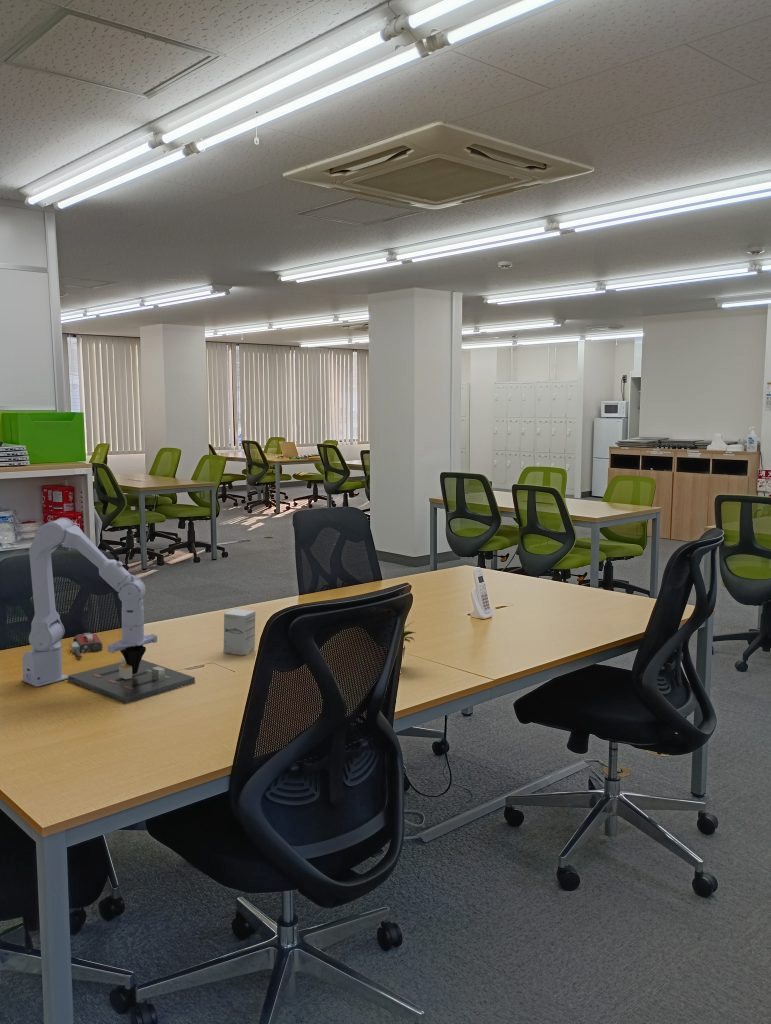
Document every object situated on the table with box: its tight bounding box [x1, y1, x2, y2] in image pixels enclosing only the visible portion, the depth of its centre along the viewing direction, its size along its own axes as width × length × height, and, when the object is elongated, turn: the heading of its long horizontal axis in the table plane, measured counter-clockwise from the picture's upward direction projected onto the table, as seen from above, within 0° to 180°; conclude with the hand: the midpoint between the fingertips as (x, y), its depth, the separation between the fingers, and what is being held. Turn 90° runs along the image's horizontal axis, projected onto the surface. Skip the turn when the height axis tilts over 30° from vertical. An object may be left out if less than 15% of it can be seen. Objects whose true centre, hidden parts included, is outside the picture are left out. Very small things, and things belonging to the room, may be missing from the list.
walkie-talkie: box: [70, 632, 103, 659], centre depth 253 cm, size 9×4×20 cm
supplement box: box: [223, 608, 257, 656], centre depth 256 cm, size 7×7×13 cm
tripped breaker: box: [119, 664, 132, 679], centre depth 224 cm, size 2×3×3 cm, turn 52°
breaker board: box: [67, 656, 196, 705], centre depth 225 cm, size 22×26×4 cm
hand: (133, 672), depth 226 cm, fingers closed
